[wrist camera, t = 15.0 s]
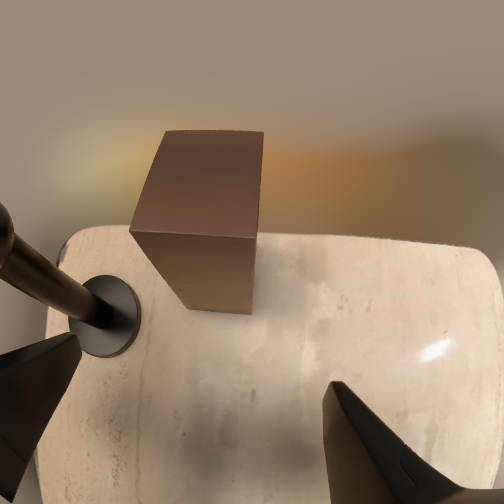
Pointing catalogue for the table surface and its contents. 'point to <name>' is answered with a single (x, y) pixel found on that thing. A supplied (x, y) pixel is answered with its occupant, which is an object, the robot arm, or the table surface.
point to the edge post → (72, 295)
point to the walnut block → (203, 216)
